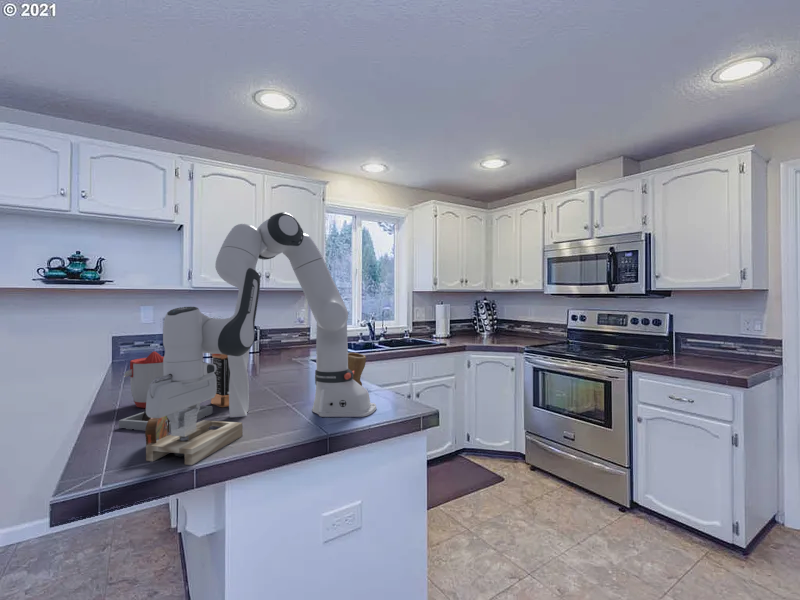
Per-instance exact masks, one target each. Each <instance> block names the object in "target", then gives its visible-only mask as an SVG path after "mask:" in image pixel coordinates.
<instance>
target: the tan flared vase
mask: <svg viewBox="0 0 800 600" xmlns="http://www.w3.org/2000/svg"><path fill="white" fill-rule="evenodd" d="M366 361H367V356H366V355H364V354H361V353H359V352H348V368H349V369H350V370H351V371H354V374H353V380H355V381H356V382H357V383H358V384H360V385H361V386H362V387H363V383H362V381H361V378H362V374H363V372H364V369H365V367H366Z"/></svg>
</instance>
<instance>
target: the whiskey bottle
mask: <svg viewBox="0 0 800 600" xmlns="http://www.w3.org/2000/svg"><path fill="white" fill-rule="evenodd" d="M228 318H229V317H228ZM228 318H227V317H226V319H228ZM211 357H212V364H215V365H216V372H214V374H215V375H216V381H217V391H216V395H215V397H214V398H212V399H210V403H211V404H212V405H214V406H215V407H216V406H217V407H220V408H226V407H229V381H230V369H229V363H228V355H225V354H211Z"/></svg>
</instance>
